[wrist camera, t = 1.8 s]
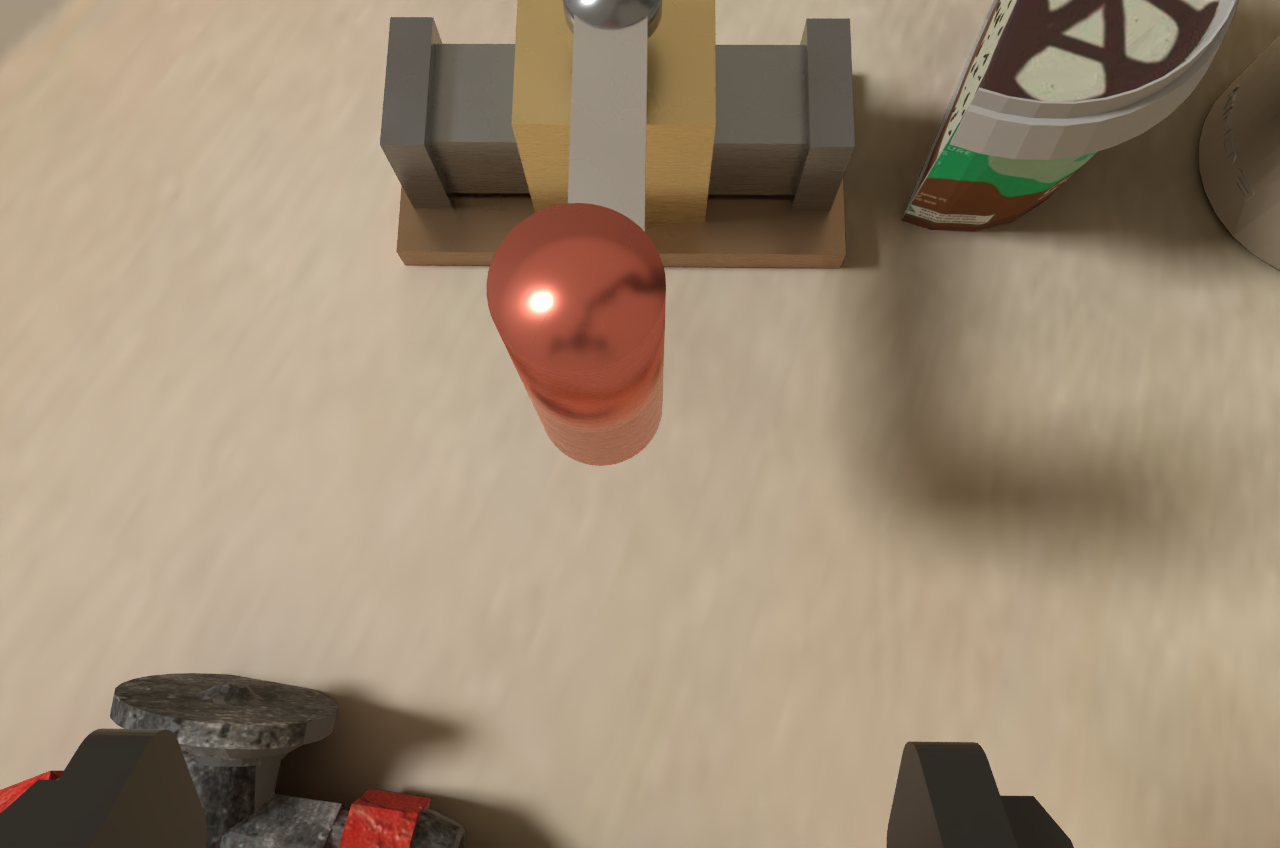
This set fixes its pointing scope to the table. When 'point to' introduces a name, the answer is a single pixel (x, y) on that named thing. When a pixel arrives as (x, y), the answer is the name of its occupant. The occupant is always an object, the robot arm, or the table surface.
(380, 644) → the table surface
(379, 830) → the valve
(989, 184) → the food container
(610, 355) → the lever
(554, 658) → the table surface
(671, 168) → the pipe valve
